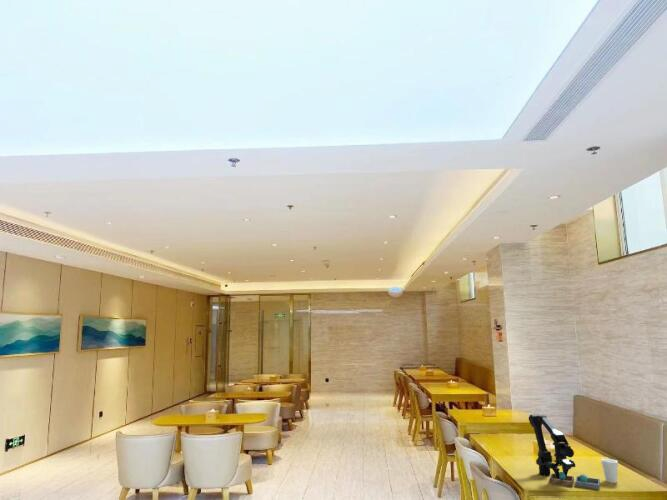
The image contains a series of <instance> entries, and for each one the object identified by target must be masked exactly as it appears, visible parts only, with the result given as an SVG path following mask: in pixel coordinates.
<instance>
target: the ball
mask: <svg viewBox="0 0 667 500" xmlns="http://www.w3.org/2000/svg"><path fill="white" fill-rule="evenodd" d="M578 476H579V479H580V481H581V482H584V483H586V482H587V481H588V478H589V477H588V476H587V475H585V474H582V473H581V474H580V475H578Z"/></svg>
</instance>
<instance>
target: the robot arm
mask: <svg viewBox="0 0 667 500" xmlns="http://www.w3.org/2000/svg"><path fill="white" fill-rule="evenodd" d="M528 421H529V424H530V426H531V427H532V428H533V430H534V435H535V438H536V443H537V446H538V452H537V459H535V465H537V466H538V475H539V474H541V476H546V475H547V477H549V476H551V469H552V471H553V474H555V475H556V477H557V478H558V479H559V472H560V468H559V467H561V470H562V472H563V473H564V474H565V475H566V476H568V473H569V470H571V469H572V468H576V463H575V461H574V460H573V459H567V457H568V458H572V457H574V454H575V451H574V450H573V448H572V447H571V446H570V444H569V441H568V440H567V438H566V436H565V434H563V432H562V431H560V430H558V429H556V427H555V426H554V425H553V424H552V422H550V420H549V419H548V417H547V416H546V415H545V414H542V415H541V414H530V415H529V416H528ZM542 425H543V427H544V428H545V429H546V431H548V432H549V434H550V439H551V441H553V442H552V446H554V454H553V456H554V457H555V460H554V461H553V456H552V453H551V451H549V449H547V446H546V445H547V444H546V442H545V438H544V434H543V430H542Z"/></svg>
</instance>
